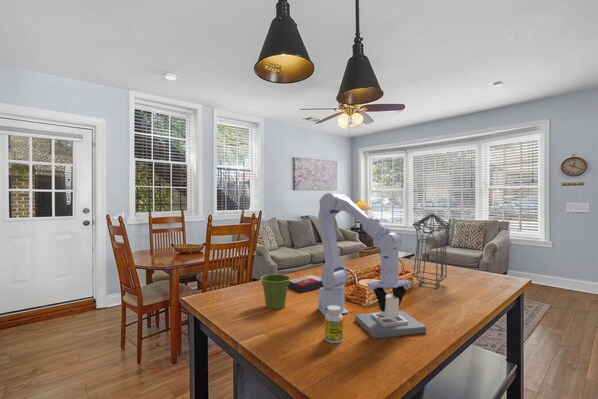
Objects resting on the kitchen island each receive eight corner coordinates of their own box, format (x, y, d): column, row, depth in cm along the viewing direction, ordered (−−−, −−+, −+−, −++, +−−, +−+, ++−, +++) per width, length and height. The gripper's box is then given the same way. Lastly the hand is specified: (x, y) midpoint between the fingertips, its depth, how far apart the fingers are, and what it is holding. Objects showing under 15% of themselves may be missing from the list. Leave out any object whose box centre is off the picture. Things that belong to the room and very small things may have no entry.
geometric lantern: (417, 279, 159) (419, 212, 159) (450, 285, 150) (453, 214, 150) (408, 286, 146) (411, 213, 146) (444, 293, 137) (447, 215, 137)
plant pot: (297, 306, 119) (297, 277, 119) (274, 314, 111) (274, 283, 110) (276, 299, 127) (276, 272, 127) (253, 306, 119) (254, 277, 119)
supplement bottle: (339, 334, 95) (339, 303, 95) (345, 342, 90) (345, 310, 90) (322, 336, 94) (322, 305, 94) (328, 344, 88) (328, 311, 88)
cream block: (386, 318, 98) (386, 299, 98) (379, 312, 103) (379, 295, 103) (398, 316, 99) (398, 298, 99) (391, 311, 104) (391, 294, 104)
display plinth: (373, 338, 92) (373, 328, 92) (355, 320, 106) (355, 311, 106) (426, 332, 96) (426, 323, 96) (401, 315, 110) (401, 307, 110)
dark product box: (287, 280, 145) (311, 273, 154) (287, 288, 145) (311, 282, 154) (301, 285, 136) (326, 278, 145) (301, 294, 136) (326, 287, 145)
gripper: (374, 272, 95) (374, 316, 96) (416, 270, 99) (415, 312, 99) (365, 267, 102) (364, 308, 102) (403, 265, 106) (403, 304, 106)
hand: (389, 309), depth 101 cm, fingers closed on cream block, 4 cm apart
